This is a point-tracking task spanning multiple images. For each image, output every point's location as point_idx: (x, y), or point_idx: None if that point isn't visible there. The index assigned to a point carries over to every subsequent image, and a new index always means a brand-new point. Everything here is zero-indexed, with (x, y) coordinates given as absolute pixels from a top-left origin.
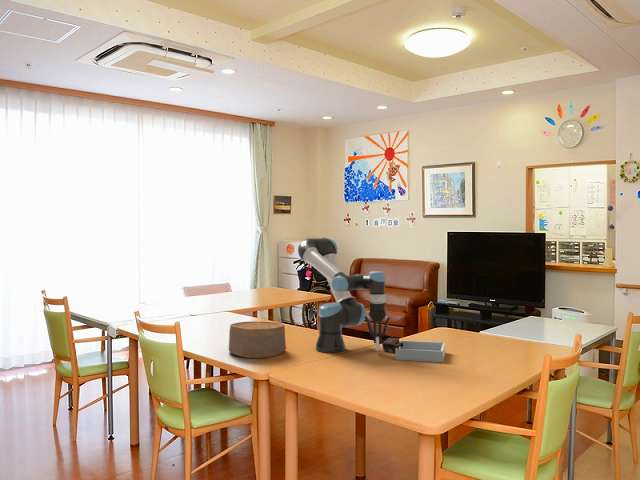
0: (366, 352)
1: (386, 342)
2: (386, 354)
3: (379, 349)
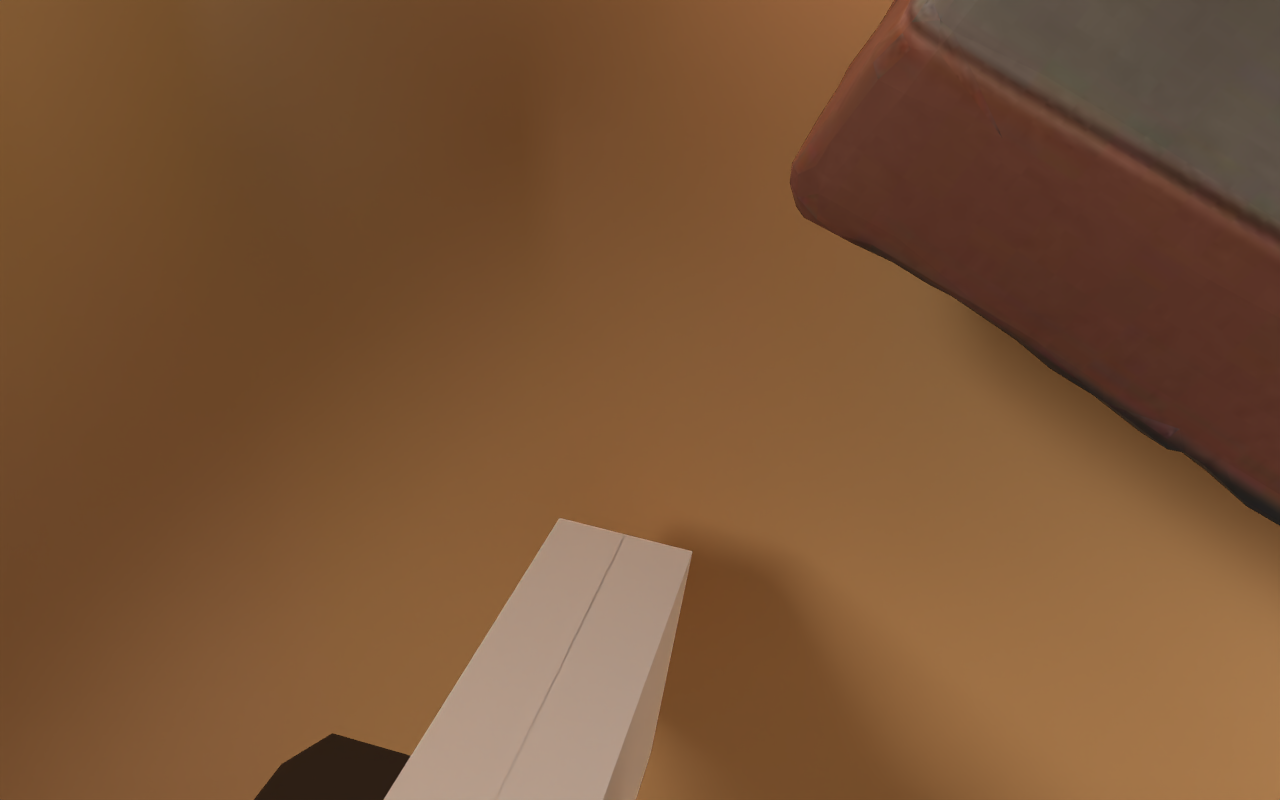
0: (201, 375)
1: (1120, 241)
2: (973, 687)
3: (669, 658)
